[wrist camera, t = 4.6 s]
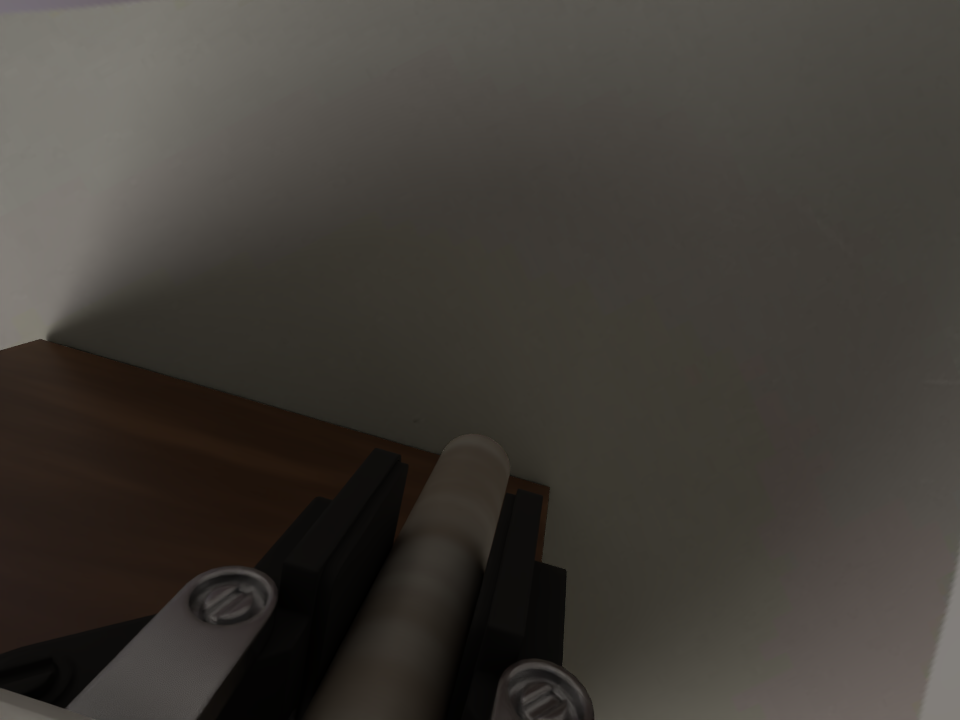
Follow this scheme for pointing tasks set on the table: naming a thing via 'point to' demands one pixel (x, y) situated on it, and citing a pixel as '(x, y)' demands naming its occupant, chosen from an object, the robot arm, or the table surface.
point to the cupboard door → (228, 518)
